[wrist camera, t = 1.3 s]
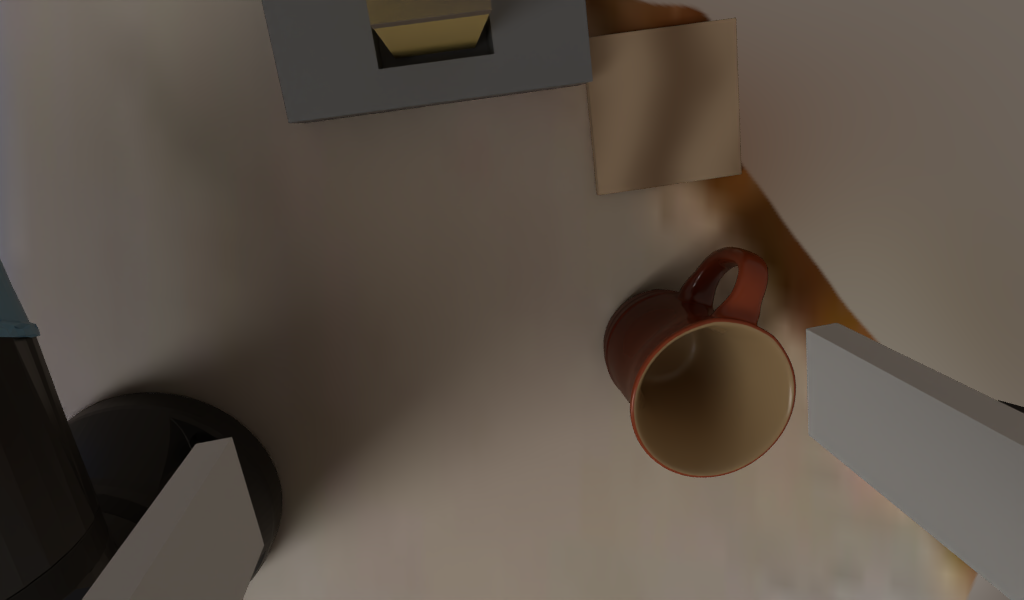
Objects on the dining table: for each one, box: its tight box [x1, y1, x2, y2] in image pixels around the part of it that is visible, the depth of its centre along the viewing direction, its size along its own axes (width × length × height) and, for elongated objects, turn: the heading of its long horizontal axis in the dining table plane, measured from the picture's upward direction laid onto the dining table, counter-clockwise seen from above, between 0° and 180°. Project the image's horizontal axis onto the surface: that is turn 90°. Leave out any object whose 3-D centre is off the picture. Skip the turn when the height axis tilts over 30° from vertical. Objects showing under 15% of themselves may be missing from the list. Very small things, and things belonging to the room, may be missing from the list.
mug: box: [604, 247, 796, 477], centre depth 38 cm, size 12×9×10 cm
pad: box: [586, 18, 742, 195], centre depth 39 cm, size 9×9×1 cm
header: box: [262, 0, 593, 123], centre depth 34 cm, size 16×10×4 cm, turn 98°
